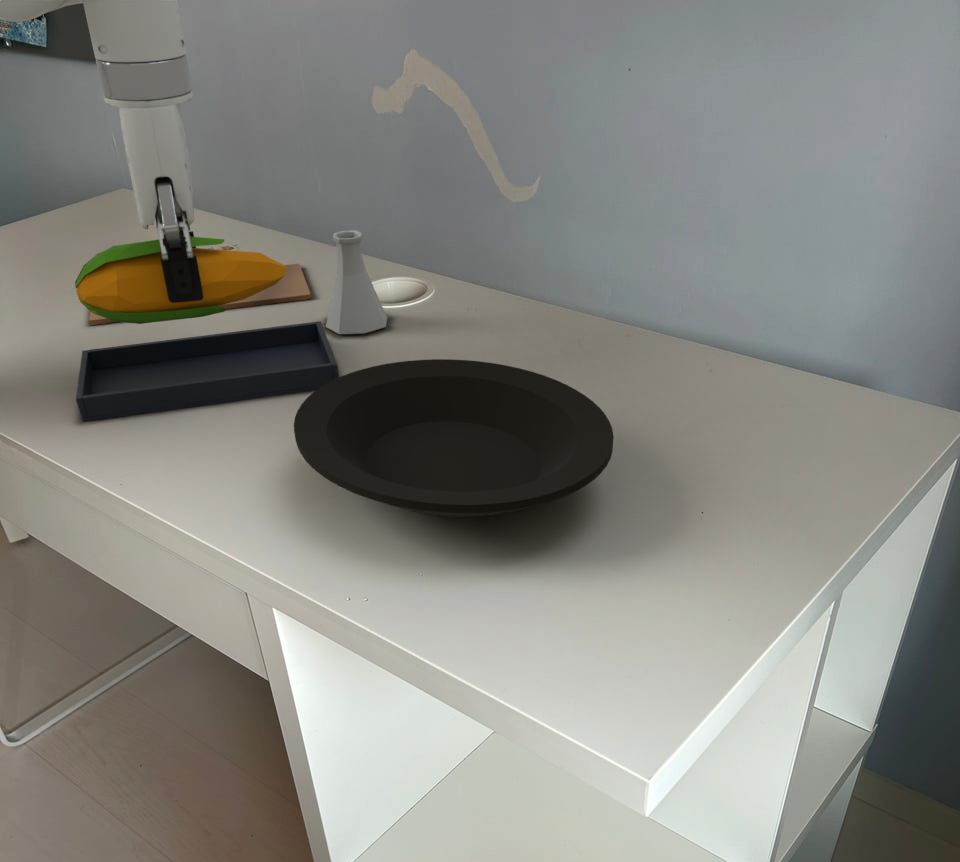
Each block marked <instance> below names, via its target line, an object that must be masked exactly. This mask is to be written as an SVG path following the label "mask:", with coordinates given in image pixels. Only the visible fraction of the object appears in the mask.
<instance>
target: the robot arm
mask: <svg viewBox="0 0 960 862" xmlns="http://www.w3.org/2000/svg"><path fill="white" fill-rule="evenodd" d="M178 3H179V2H178V0H0V21H4V22H9V23H10V22H11V23H22V22H28V21H31V20H35V19H37V18H39V17H41V16H43V15H45V14H47V13H51V12H54V11H57V10H59V9H62V8H65V7H68V6H73V5H79V4H83V9H84V13H85V17H86V22H87V27H88V31H89V36H90V37H89V38H90V40H91V46H92V49H93V54H94V58H95V63H96V68H97V73H98V77H99V82H100V87H101V92H102V96H103V100H104V103H105V104H106V105H108V106H112V107H117V108H118V113H119V120H120V121H119V122H120V128H121V134H122V139H123V140H122V141H123V145H124V150H125V156H126V161H127V165H128V170H129V175H130V180H131V184H132V190H133V195H134V201H135V204H136V210H137V215H138V221H139V225H140V227H141V228H143V229H144V230H149V226H154V224H156V226H155V227H156V229H157V235H158V239H159V241H160V247H161V252H162V258H161V264H162V269H163V274H164V279H165V284H166V288H167V293H168V298H169V301H170V302H172V303H178V302H188V301H199V300H202V299H203V291H202V285H201V280H200V274H199V269H198V263H197V258H196V255H195V256H193V252H192V248H197V246H194V247H192V246H191V240H190V237H195V235H194V231H191V225H193V223H194V222H195V205H194V189H193V179H192V177H193V176H192V170H191V169H192V168H191V161H190V156H189V155H190V154H189V148H188V142H187V141H188V140H187V136H186V129H185V124H184V117H183V111H182V106H181V104H183V103H187V102H189V101H191V100H193V98H194V94H193V93H194V92H193V88H192V81H191V76H190V71H189V64H188V57H187V51H186V45H185V39H184V34H183V28H182V22H181V16H180V11H179V4H178ZM185 246H186V247H185Z"/></svg>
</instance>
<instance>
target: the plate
mask: <svg viewBox="0 0 960 862" xmlns="http://www.w3.org/2000/svg"><path fill="white" fill-rule="evenodd" d="M293 434H294V440H295V443H296V447H297V450H298V451H299V453H300V455H301V456H302V458H303V459H304V461H305V462H306V463H307V464H308V465H309V466H310V467H311V468H312V469H313V470H314V471H315V472H316V473H318V474H319V475H320V476H322V478H325V479H326V480H327V481H329V482H331V483H333V484H334V485H336V486H338V487H340V488H342V489H344V490H346V491H348V492H350V493H353V494H355V495H358V496H361V497H363V498H366V499H369V500H373V501H376V502H379V503H382V504H386V505H388V506H391V507H395V508H399V509H402V510H405V511H410V512H415V513H421V514H425V515H432V516H433V515H434V516H442V517H465V518H466V517H485V516H494V515H495V516H496V515H503V514H507V513H512V512H516V511H520V510H525V509H528V508H533V507H536V506H539V505H543V504H547V503H551V502H554V501H556V500H560V499H562V498H565V497H567V496H570V495H572V494H574V493H576V492H578V491H579V490H581V489H583V488H584V487H586V486H587V485H589V484H590V483H591V482H593V481H594V480H595V479H596V478H598V477H599V476H600V475H601V474H602V473H603V472H604V470H605V469H606V467H608V465H609V463H610V461H611V458H612V455H613V450H614V449H613V448H614V431H613V427H612V424H611V422H610V420H609V418H608V417H607V414H605V412H604V411H603V410H602V409H601V408H600V406H598V405H597V404H596V403H595V402H594V400H591V399H590V398H589V396H586V395H585V394H583V393H582V392H580V391H579V390H577V389H575V388H573V387H571V386H570V385H568V384H567V383H564V382H561V381H559V380H557V379H555V378H552V377H550V376H547V375H545V374H540V373H537V372H535V371H531V370H527V369H524V368H520V367H516V366H510V365H506V364H500V363H493V362H488V361H478V360H470V359H469V360H468V359H449V358H447V359H442V358H441V359H437V358H435V359H434V358H433V359H414V360H405V361H404V360H403V361H396V362H390V363H385V364H380V365H379V364H378V365H373V366H369V367H366V368H362V369H359V370H355V371H352V372H349V373H347V374H344V375H341V376H339V378H337V379H335V380H333V381H330V382H328V383H327V384H325V385H323V386H322V387H320V388H319V389H317V390H313V392H312V393H311V394H309V396H307V397H306V398H305V399H304V401H302V403H301V404H300V406H299V408H298V409H297V411H296V413H295V416H294V421H293Z"/></svg>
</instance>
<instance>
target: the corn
mask: <svg viewBox="0 0 960 862" xmlns="http://www.w3.org/2000/svg"><path fill="white" fill-rule="evenodd" d="M190 240H191V246H192V247H194V246H196V248H192V252H193V256H195V255H196V258H197V263H198V269H199V274H200V280H201V285H202V291H203V299H202V300H199V301H188V302H178V303H172V302H170V301H169V298H168V293H167V288H166V284H165V279H164V274H163V269H162V264H161V258H162V252H161V247H160V241H159V238H158V239H153V240H146V241H144V240H143V241H138V242H131V243H124V244H118V245H112V246H111V247H109V248H107V249H105V250H103V251H100V252H99V253H96V254H95V255H94V256H93V257H92V258H91V259H89V260H88V261H87V262H86V263H85V264H83V266H82V268H81V269H80V272H79V274H78V275H77V277H76V280H75V282H74V283H75V284H74V287H75V289H76V290H75V291H76V292H75V293H76V295H77V297H78V300H79V303H81V304H82V305H83V306H84V307H85V308H86V309H87V310H88V311H89V312H90V311H91V312H92V313H94V314H96V315H99V316H102V317H104V318H107V319H110V320H112V321H116V322H115V323H126V324H136V325H141V324H150V323H159V322H169V321H177V320H178V321H179V320H187V319H195V318H204V317H208V316H211V315H212V316H213V315H215V314H219V313H224V312H226V311H227V309H225V308H224V307H220V305H224V304H228V303H232V302H236V301H240V300H244V299H246V298H248V297H250V296H252V295H254V294H256V293H259V292H261V291H263V290H265V289H267V288H269V287H271V286H273V285H275V284H277V283H278V282H279V281H280V280H281V279H282V278H283V277H284V276H285V272H286V268H287V267H285V266H284V265H285V264H283V263H281V262H279V261H277V260H275V259H273V258H271V257H269V256H267V255H266V254H264V253H261V252H258V251H257V252H255V251H242V250H228V249H215V248H201V247H204V246H205V247H206V246H217V245H222V244H224V242H225V239H224V238H213V237H200V236H194V237H190ZM185 247H186V246H185Z"/></svg>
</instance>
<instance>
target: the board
mask: <svg viewBox="0 0 960 862" xmlns="http://www.w3.org/2000/svg"><path fill="white" fill-rule="evenodd" d="M283 265H284V266H285V267H287V268H286V272H285V276H284V277H283V278H282V279H281V280H280V281H279V282H278V283H277V284H275V285H273V286H271V287H269V288H267V289H265V290H263V291H261V292H259V293H256V294H254V295H252V296H250V297H248V298H246V299H244V300H240V301H236V302H232V303H228V304H224V305H220V307H224V308H225V309H226V310H231V309H240V308H247V307H256V306H263V305H272V304H273V305H274V304H281V303H288V302H289V303H290V302H298V301H306V300H312V294H311V291H310V288H309V286H308V283H307V280H306V278H305V275H304V273H303V270H302V268H301V265H300V263H293V264H292V263H290V264H283ZM88 317H89V318H88V322H89V325H90V326H95V325H96V326H97V325H105V324H111V323H112V324H113V323H117V322H116V321H112V320H110V319H107V318H104V317H102V316H99V315H96V314H94V313H92V312H91V311H90V310H89V316H88Z"/></svg>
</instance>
